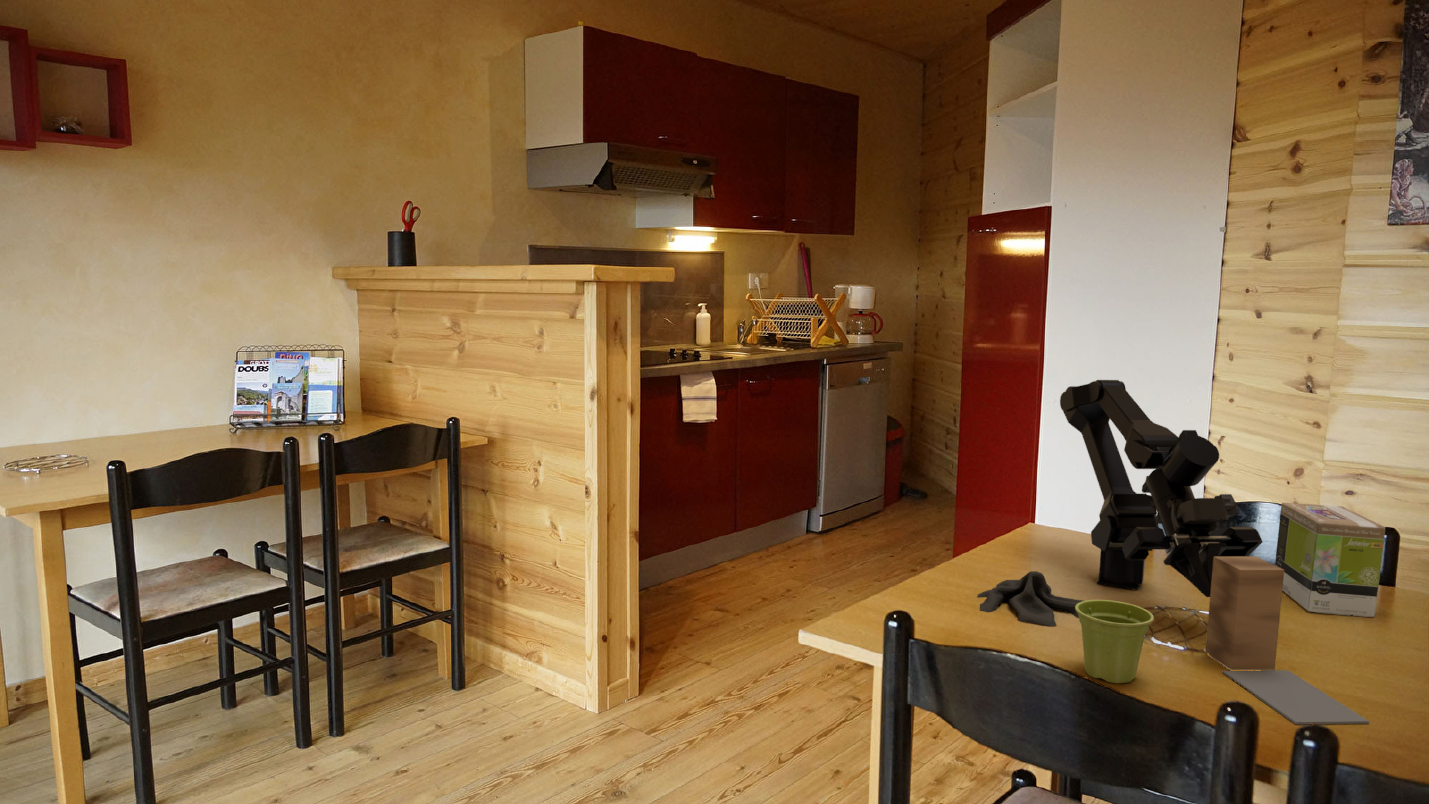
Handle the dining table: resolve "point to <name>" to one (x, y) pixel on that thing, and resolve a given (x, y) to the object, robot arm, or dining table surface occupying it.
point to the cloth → (1029, 599)
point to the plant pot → (1112, 638)
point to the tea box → (1330, 558)
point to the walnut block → (1244, 612)
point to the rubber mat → (1295, 697)
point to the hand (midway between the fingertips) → (1210, 595)
